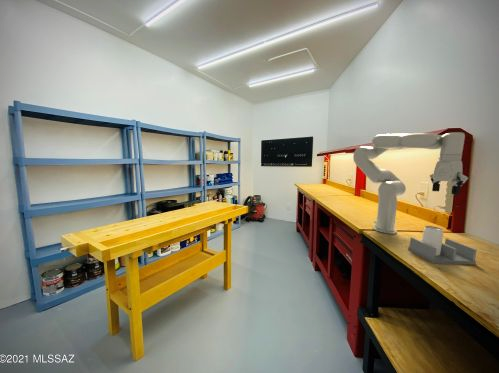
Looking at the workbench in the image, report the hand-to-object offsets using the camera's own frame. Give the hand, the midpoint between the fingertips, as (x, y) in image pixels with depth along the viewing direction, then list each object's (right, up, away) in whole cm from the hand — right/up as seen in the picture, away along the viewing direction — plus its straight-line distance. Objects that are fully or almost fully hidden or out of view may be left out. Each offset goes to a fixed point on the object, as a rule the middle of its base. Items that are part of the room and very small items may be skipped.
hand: (444, 192), depth 95 cm
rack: (-11, -29, -8) cm, 32 cm away
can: (-16, -28, -8) cm, 33 cm away
